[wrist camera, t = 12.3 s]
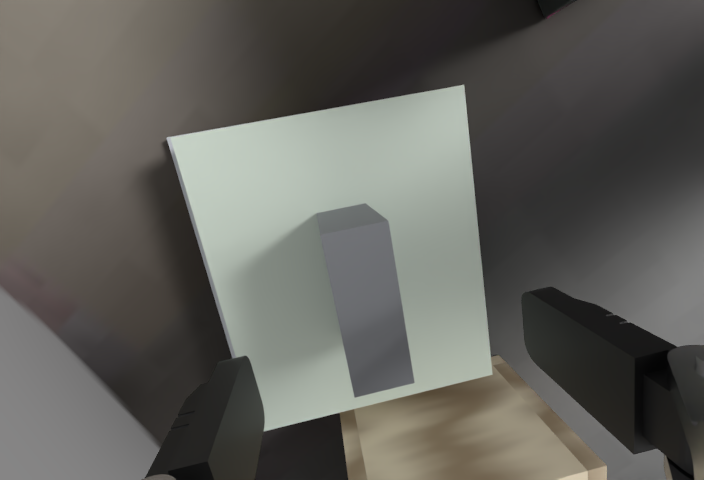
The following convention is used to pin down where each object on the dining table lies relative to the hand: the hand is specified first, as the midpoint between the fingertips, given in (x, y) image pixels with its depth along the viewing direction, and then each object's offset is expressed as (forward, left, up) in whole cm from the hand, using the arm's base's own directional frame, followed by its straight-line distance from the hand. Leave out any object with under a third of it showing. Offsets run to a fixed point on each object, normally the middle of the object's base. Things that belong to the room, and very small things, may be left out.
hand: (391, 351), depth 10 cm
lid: (0, 0, -9) cm, 9 cm away
